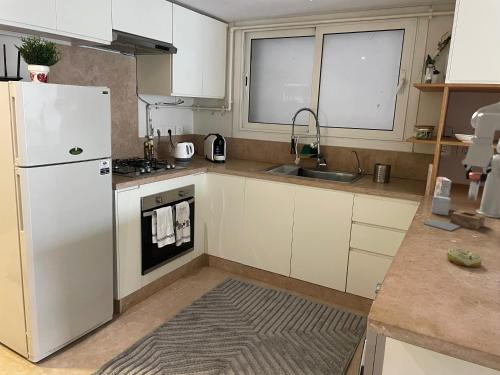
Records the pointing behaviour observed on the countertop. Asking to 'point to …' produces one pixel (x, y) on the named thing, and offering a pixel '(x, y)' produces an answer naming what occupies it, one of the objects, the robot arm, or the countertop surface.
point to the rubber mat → (442, 225)
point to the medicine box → (440, 205)
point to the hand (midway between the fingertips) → (475, 180)
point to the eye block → (467, 219)
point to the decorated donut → (464, 257)
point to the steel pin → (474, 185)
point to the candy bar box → (442, 187)
